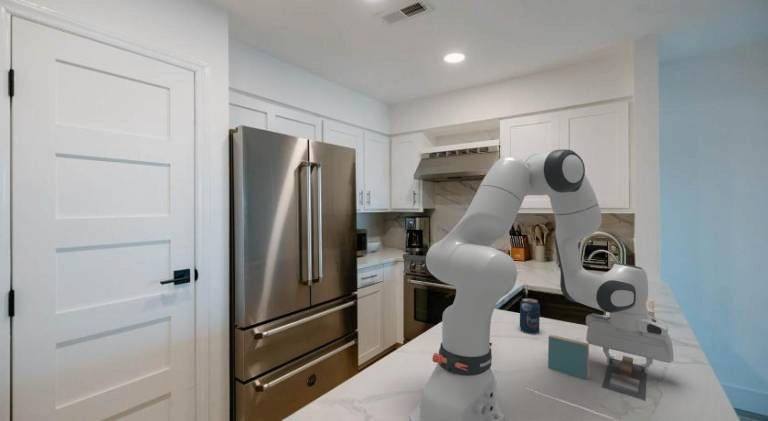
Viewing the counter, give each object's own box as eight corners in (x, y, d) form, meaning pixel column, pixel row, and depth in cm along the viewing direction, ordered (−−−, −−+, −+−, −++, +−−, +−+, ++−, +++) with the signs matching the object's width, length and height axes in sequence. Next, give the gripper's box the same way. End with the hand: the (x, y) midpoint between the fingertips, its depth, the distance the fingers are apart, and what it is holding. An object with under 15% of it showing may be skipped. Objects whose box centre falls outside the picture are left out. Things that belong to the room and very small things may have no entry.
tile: (587, 381, 90) (588, 345, 90) (547, 369, 97) (548, 336, 96) (588, 379, 92) (589, 343, 91) (549, 367, 98) (549, 334, 98)
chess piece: (662, 325, 134) (663, 300, 134) (649, 325, 134) (650, 300, 134) (652, 321, 139) (652, 296, 139) (639, 320, 139) (640, 296, 139)
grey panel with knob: (638, 394, 83) (638, 385, 83) (609, 386, 87) (609, 377, 87) (640, 367, 97) (640, 359, 97) (615, 361, 101) (615, 353, 101)
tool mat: (645, 402, 81) (645, 400, 81) (601, 389, 86) (601, 387, 86) (647, 369, 98) (647, 367, 98) (610, 359, 103) (610, 357, 103)
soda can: (529, 335, 122) (530, 303, 122) (515, 329, 128) (516, 298, 128) (543, 333, 125) (544, 301, 124) (529, 326, 131) (529, 296, 131)
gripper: (584, 314, 99) (583, 360, 99) (674, 331, 86) (673, 384, 86) (587, 309, 104) (586, 352, 104) (673, 325, 91) (672, 374, 91)
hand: (626, 367), depth 95 cm, fingers open, 6 cm apart
